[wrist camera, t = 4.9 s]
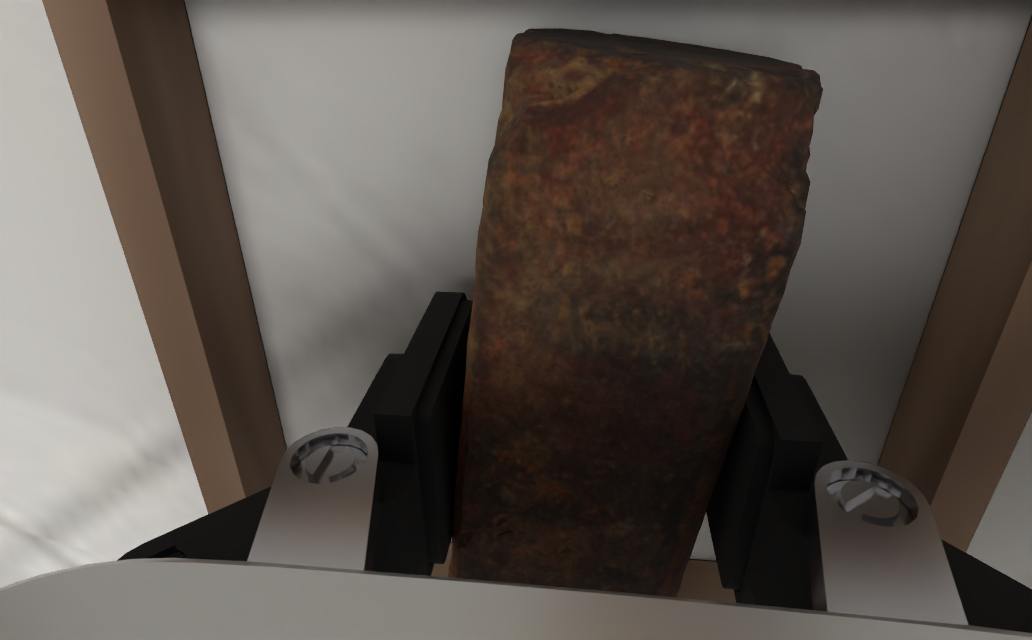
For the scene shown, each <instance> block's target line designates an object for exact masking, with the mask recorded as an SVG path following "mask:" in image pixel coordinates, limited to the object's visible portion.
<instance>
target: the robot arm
mask: <svg viewBox="0 0 1032 640" xmlns="http://www.w3.org/2000/svg"><path fill="white" fill-rule="evenodd" d="M472 305H473V300H467V299H466V295H465V293H457V292H436V293H435V294H434V296H433V298H432V300H431V302H430V304H429V306H428V308H427V310H426V312H425V314H424V316H423V318H422V320H421V321H420V323H419V325H418V327H417V329H416V331H415V333H414V335H413V337H412V339H411V341H410V343H409V345H408V347H407V349H406V351H405V353H404V354H389V355H388V356H387V357H386V359H385V360H384V362H383V364H382V366H381V368H380V369H379V371H378V373H377V375H376V377H375V378H374V380H373V382H372V384H371V386H370V387H369V389H368V391H367V393H366V395H365V396H364V398H363V400H362V402H361V404H360V405H359V407H358V409H357V411H356V413H355V414H354V416H353V418H352V420H351V422H350V423H349V425H348V427H334V428H328V429H322V430H319V431H316V432H314V433H311V434H308V435H306V436H304V437H303V438H301V439H299V440H297V441H296V442H294V443H293V444H292V445H291V446H290V447H289V448H288V449H287V450H286V451H285V453H284V454H283V456H282V458H281V460H280V462H279V465H278V468H277V471H276V474H275V477H274V480H273V483H272V486H270V487H268V488H266V489H264V490H262V491H259V492H257V493H255V494H253V495H250V496H248V497H246V498H244V499H242V500H239V501H237V502H235V503H233V504H230V505H228V506H226V507H224V508H221V509H219V510H217V511H215V512H213V513H210V514H208V515H206V516H204V517H201V518H199V519H197V520H195V521H193V522H190V523H188V524H186V525H184V526H181V527H179V528H177V529H175V530H172V531H170V532H168V533H166V534H164V535H161V536H159V537H157V538H155V539H152V540H150V541H148V542H146V543H144V544H142V545H140V546H138V547H136V548H134V549H133V550H131V551H129V552H127V553H126V554H124V555H123V556H122V557H121V558H119V559H118V560H117V561H111V562H103V563H94V564H87V565H82V566H78V567H73V568H69V569H64V570H60V571H55V572H51V573H46V574H42V575H38V576H35V577H32V578H29V579H25V580H22V581H19V582H16V583H13V584H10V585H8V586H5V587H2V588H0V640H1032V589H1030V588H1028V587H1026V586H1025V585H1023V584H1021V583H1019V582H1017V581H1016V580H1014V579H1012V578H1010V577H1008V576H1007V575H1005V574H1003V573H1001V572H999V571H998V570H996V569H994V568H992V567H990V566H989V565H987V564H985V563H983V562H981V561H980V560H978V559H976V558H974V557H972V556H971V555H969V554H967V553H965V552H963V551H962V550H960V549H958V548H956V547H954V546H953V545H951V544H949V543H947V542H945V541H944V540H942V539H941V538H940V535H939V531H938V528H937V525H936V522H935V519H934V516H933V513H932V510H931V507H930V505H929V503H928V502H927V500H926V498H925V496H924V495H923V494H922V493H921V492H920V491H919V490H918V489H917V488H916V487H915V486H914V485H913V484H912V483H910V482H909V481H907V480H906V479H904V478H903V477H901V476H900V475H898V474H896V473H894V472H892V471H890V470H887V469H885V468H883V467H880V466H877V465H873V464H870V463H866V462H860V461H851V460H848V459H847V457H846V455H845V453H844V451H843V449H842V448H841V446H840V444H839V442H838V440H837V438H836V436H835V434H834V432H833V430H832V429H831V427H830V425H829V423H828V421H827V419H826V417H825V415H824V413H823V412H822V410H821V408H820V406H819V404H818V402H817V400H816V398H815V396H814V394H813V393H812V391H811V389H810V387H809V385H808V383H807V381H806V380H805V379H804V377H803V376H800V375H790V374H789V372H788V369H787V367H786V365H785V363H784V361H783V359H782V357H781V355H780V353H779V351H778V349H777V347H776V345H775V343H774V341H773V339H772V337H771V335H770V333H769V335H768V338H767V342H766V345H765V348H764V350H763V352H762V355H761V357H760V360H759V362H758V365H757V367H756V369H755V373H754V376H753V379H752V383H751V386H750V389H749V392H748V395H747V398H746V401H745V404H744V407H743V410H742V413H741V416H740V419H739V422H738V424H737V427H736V430H735V432H734V435H733V438H732V440H731V443H730V445H729V448H728V451H727V453H726V456H725V459H724V462H723V465H722V468H721V471H720V474H719V477H718V480H717V483H716V485H715V488H714V490H713V492H712V495H711V498H710V501H709V504H708V507H707V510H706V513H707V518H708V523H709V527H710V532H711V537H712V542H713V546H714V551H715V556H716V561H717V566H718V570H719V575H720V580H721V584H722V586H723V588H724V589H733V590H734V595H735V599H736V603H731V602H720V601H710V600H699V599H688V598H677V597H666V596H655V595H644V594H632V593H621V592H610V591H599V590H588V589H576V588H565V587H554V586H542V585H531V584H520V583H508V582H497V581H485V580H473V579H461V578H449V577H437V576H431V574H432V570H433V566H434V564H444V563H445V561H446V558H447V554H448V550H449V546H450V542H451V538H452V532H453V518H454V503H455V482H456V475H457V467H458V449H459V438H460V430H461V422H462V407H463V396H464V385H465V375H466V358H467V340H468V334H469V328H470V320H471V312H472Z"/></svg>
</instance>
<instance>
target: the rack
mask: <svg viewBox="0 0 1032 640" xmlns="http://www.w3.org/2000/svg"><path fill="white" fill-rule="evenodd" d="M42 1H43V4H44V7H45V11H46V14H47V17H48V20H49V23H50V26H51V29H52V32H53V35H54V38H55V41H56V45H57V48H58V51H59V54H60V57H61V60H62V63H63V66H64V69H65V72H66V75H67V78H68V82H69V85H70V88H71V91H72V94H73V97H74V100H75V103H76V106H77V109H78V112H79V115H80V119H81V122H82V125H83V128H84V131H85V134H86V137H87V140H88V143H89V146H90V149H91V153H92V156H93V159H94V162H95V165H96V168H97V171H98V174H99V177H100V180H101V183H102V186H103V190H104V193H105V196H106V199H107V202H108V205H109V208H110V211H111V214H112V217H113V220H114V223H115V227H116V230H117V233H118V236H119V239H120V242H121V245H122V248H123V251H124V254H125V257H126V261H127V264H128V267H129V270H130V273H131V276H132V279H133V282H134V285H135V288H136V291H137V294H138V298H139V301H140V304H141V307H142V310H143V313H144V316H145V319H146V322H147V325H148V328H149V331H150V335H151V338H152V341H153V344H154V347H155V350H156V353H157V356H158V359H159V362H160V365H161V368H162V372H163V375H164V378H165V381H166V384H167V387H168V390H169V393H170V396H171V399H172V402H173V406H174V409H175V412H176V415H177V418H178V421H179V424H180V427H181V430H182V433H183V436H184V439H185V443H186V446H187V449H188V452H189V455H190V458H191V461H192V464H193V467H194V470H195V473H196V476H197V480H198V483H199V486H200V489H201V492H202V495H203V498H204V501H205V504H206V507H207V510H208V514H210V513H213V512H215V511H217V510H219V509H221V508H224V507H226V506H228V505H230V504H233V503H235V502H237V501H239V500H242V499H244V498H246V497H248V496H250V495H253V494H255V493H257V492H259V491H262V490H264V489H266V488H268V487H270V486H272V483H273V480H274V477H275V474H276V471H277V468H278V465H279V462H280V460H281V458H282V456H283V454H284V453H285V451H286V446H285V442H284V437H283V433H282V429H281V424H280V420H279V416H278V411H277V407H276V403H275V398H274V394H273V389H272V385H271V381H270V376H269V372H268V368H267V363H266V359H265V355H264V350H263V346H262V342H261V337H260V333H259V328H258V324H257V320H256V315H255V311H254V307H253V302H252V298H251V294H250V289H249V285H248V280H247V276H246V272H245V267H244V263H243V259H242V254H241V250H240V246H239V241H238V237H237V233H236V228H235V224H234V219H233V215H232V211H231V206H230V202H229V198H228V193H227V189H226V185H225V180H224V176H223V171H222V167H221V163H220V158H219V154H218V150H217V145H216V141H215V137H214V132H213V128H212V124H211V119H210V115H209V110H208V106H207V102H206V97H205V93H204V89H203V84H202V80H201V76H200V71H199V67H198V63H197V58H196V54H195V49H194V45H193V41H192V36H191V32H190V28H189V23H188V19H187V15H186V10H185V6H184V1H183V0H42ZM1031 412H1032V20H1031V23H1030V26H1029V29H1028V31H1027V34H1026V37H1025V40H1024V43H1023V46H1022V49H1021V52H1020V55H1019V58H1018V60H1017V63H1016V66H1015V69H1014V72H1013V75H1012V78H1011V81H1010V84H1009V87H1008V89H1007V92H1006V95H1005V98H1004V101H1003V104H1002V107H1001V110H1000V113H999V116H998V118H997V121H996V124H995V127H994V130H993V133H992V136H991V139H990V142H989V145H988V147H987V150H986V153H985V156H984V159H983V162H982V165H981V168H980V171H979V174H978V176H977V179H976V182H975V185H974V188H973V191H972V194H971V197H970V200H969V203H968V206H967V208H966V211H965V214H964V217H963V220H962V223H961V226H960V229H959V232H958V235H957V237H956V240H955V243H954V246H953V249H952V252H951V255H950V258H949V261H948V264H947V266H946V269H945V272H944V275H943V278H942V281H941V284H940V287H939V290H938V293H937V295H936V298H935V301H934V304H933V307H932V310H931V313H930V316H929V319H928V322H927V324H926V327H925V330H924V333H923V336H922V339H921V342H920V345H919V348H918V351H917V353H916V356H915V359H914V362H913V365H912V368H911V371H910V374H909V377H908V380H907V383H906V385H905V388H904V391H903V394H902V397H901V400H900V403H899V406H898V409H897V412H896V414H895V417H894V420H893V423H892V426H891V429H890V432H889V435H888V438H887V441H886V443H885V446H884V449H883V452H882V455H881V458H880V461H879V464H878V466H880V467H883V468H885V469H887V470H890V471H892V472H894V473H896V474H898V475H900V476H901V477H903V478H904V479H906V480H907V481H909V482H910V483H912V484H913V485H914V486H915V487H916V488H917V489H918V490H919V491H920V492H921V493H922V494H923V495H924V496H925V498H926V500H927V502H928V503H929V505H930V507H931V510H932V513H933V516H934V519H935V522H936V525H937V528H938V531H939V535H940V538H941V539H942V540H944V541H945V542H947V543H949V544H951V545H953V546H954V547H956V548H958V549H960V550H962V551H963V552H965V553H966V551H967V548H968V546H969V544H970V542H971V540H972V538H973V536H974V533H975V531H976V529H977V527H978V525H979V523H980V521H981V519H982V516H983V514H984V512H985V510H986V508H987V506H988V504H989V502H990V499H991V497H992V495H993V493H994V491H995V489H996V487H997V485H998V482H999V480H1000V478H1001V476H1002V474H1003V472H1004V470H1005V468H1006V465H1007V463H1008V461H1009V459H1010V457H1011V455H1012V453H1013V451H1014V448H1015V446H1016V444H1017V442H1018V440H1019V438H1020V436H1021V434H1022V431H1023V429H1024V427H1025V425H1026V423H1027V421H1028V419H1029V417H1030V414H1031ZM451 555H452V543H451V542H450V546H449V550H448V554H447V558H446V561H445V563H444V564H434V566H433V570H432V574H431V576H437V577H448V569H449V563H450V560H451ZM677 598H688V599H699V600H710V601H720V602H731V603H736V599H735V595H734V590H733V589H724V588H723V586H722V584H721V580H720V575H719V570H718V566H717V562H712V561H698V560H689V561H688V564H687V566H686V569H685V572H684V575H683V579H682V582H681V586H680V589H679V592H678V594H677Z"/></svg>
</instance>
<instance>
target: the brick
mask: <svg viewBox="0 0 1032 640" xmlns="http://www.w3.org/2000/svg"><path fill="white" fill-rule="evenodd" d="M822 91H823V88H822V87H821V83H820V76H819V74H817V73H816V72H815V71H814V70H806V69H802V67H801V66H800V65H797V64H793V63H789V62H784V61H781V60H777V59H773V58H769V57H764V56H758V55H752V54H746V53H740V52H735V51H730V50H724V49H716V48H710V47H704V46H698V45H691V44H684V43H677V42H671V41H664V40H657V39H650V38H643V37H635V36H626V35H620V34H604V33H599V32H594V31H587V30H573V29H560V28H559V29H528V30H526V31H525V32H524V33H519V34H517V35H516V36H515V37H514V38H513V40H512V46H511V51H510V55H509V58H508V62H507V66H506V71H505V82H504V92H503V104H502V111H501V114H500V117H499V120H498V126H497V133H496V140H495V146H494V148H493V151H492V153H491V156H490V158H489V163H488V170H487V177H486V184H485V191H484V198H483V210H482V215H481V221H480V226H479V231H478V241H477V250H476V268H475V283H474V295H473V305H472V312H471V320H470V328H469V334H468V340H467V358H466V375H465V385H464V396H463V407H462V422H461V430H460V438H459V449H458V467H457V475H456V482H455V503H454V518H453V532H452V555H451V560H450V563H449V569H448V577H449V578H461V579H473V580H485V581H497V582H508V583H520V584H531V585H542V586H554V587H565V588H576V589H588V590H599V591H610V592H621V593H632V594H644V595H655V596H666V597H677V594H678V592H679V589H680V586H681V582H682V579H683V575H684V572H685V569H686V566H687V564H688V561H689V559H690V556H691V553H692V550H693V547H694V544H695V541H696V538H697V535H698V533H699V530H700V528H701V525H702V522H703V519H704V516H705V513H706V510H707V507H708V504H709V501H710V498H711V495H712V492H713V490H714V488H715V485H716V483H717V480H718V477H719V474H720V471H721V468H722V465H723V462H724V459H725V456H726V453H727V451H728V448H729V445H730V443H731V440H732V438H733V435H734V432H735V430H736V427H737V424H738V422H739V419H740V416H741V413H742V410H743V407H744V404H745V401H746V398H747V395H748V392H749V389H750V386H751V383H752V379H753V376H754V373H755V369H756V367H757V365H758V362H759V360H760V357H761V355H762V352H763V350H764V348H765V345H766V342H767V338H768V335H769V331H770V328H771V324H772V322H773V319H774V317H775V314H776V312H777V309H778V307H779V304H780V302H781V299H782V297H783V294H784V291H785V287H786V284H787V280H788V276H789V273H790V269H791V267H792V264H793V262H794V259H795V257H796V254H797V252H798V249H799V247H800V244H801V238H802V232H803V226H804V220H805V214H806V211H805V207H806V201H807V196H808V191H809V186H810V180H809V178H808V175H807V173H806V166H807V162H808V159H809V157H810V148H809V145H810V142H811V138H812V134H813V122H814V115H815V113H816V112H817V110H818V109H819V104H820V100H821V95H822Z"/></svg>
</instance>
